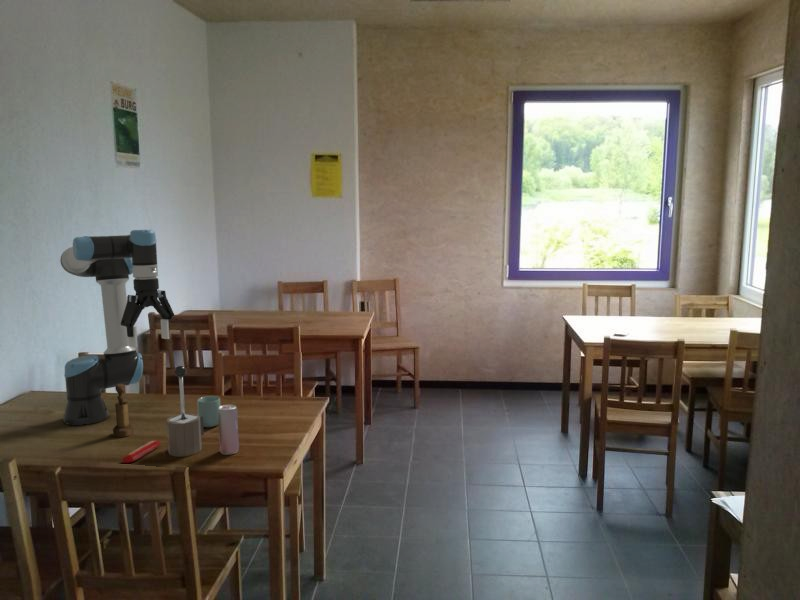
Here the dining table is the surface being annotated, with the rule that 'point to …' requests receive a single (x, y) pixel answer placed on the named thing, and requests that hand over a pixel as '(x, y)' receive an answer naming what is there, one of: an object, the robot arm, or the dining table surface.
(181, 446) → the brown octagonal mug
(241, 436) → the dining table surface
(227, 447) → the beverage can
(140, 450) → the candy bar
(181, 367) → the joystick
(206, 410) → the cup
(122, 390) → the mortar and pestle
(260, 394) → the dining table surface
